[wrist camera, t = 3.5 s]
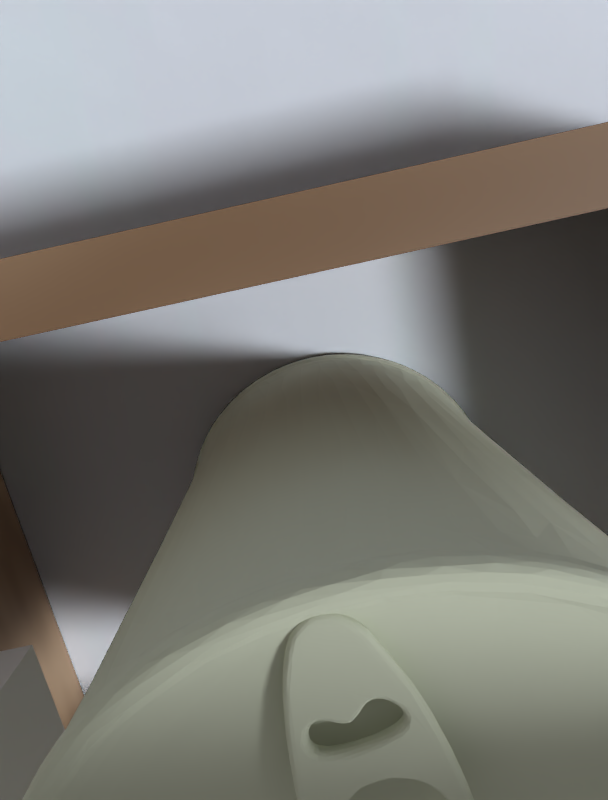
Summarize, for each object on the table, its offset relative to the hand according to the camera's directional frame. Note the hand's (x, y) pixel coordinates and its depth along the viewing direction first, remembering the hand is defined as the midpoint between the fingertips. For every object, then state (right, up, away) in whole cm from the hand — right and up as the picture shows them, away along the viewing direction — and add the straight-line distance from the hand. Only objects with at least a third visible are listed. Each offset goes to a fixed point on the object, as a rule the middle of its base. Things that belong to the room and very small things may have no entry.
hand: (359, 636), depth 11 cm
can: (0, +2, +6) cm, 6 cm away
